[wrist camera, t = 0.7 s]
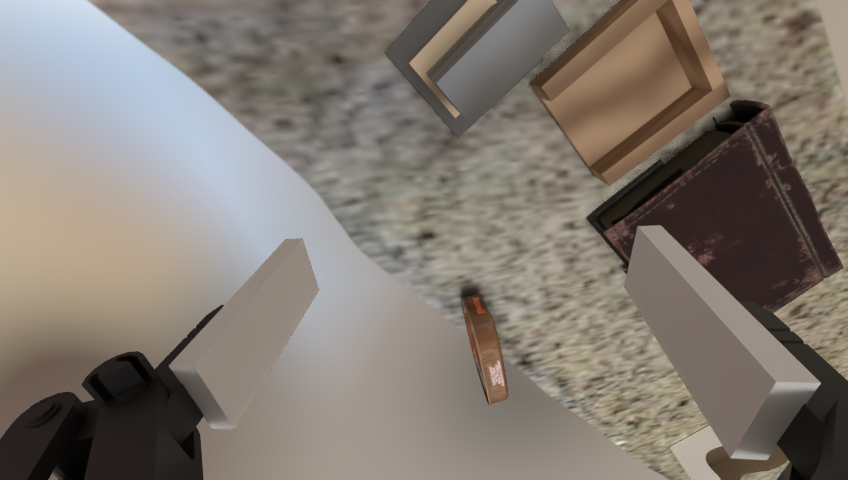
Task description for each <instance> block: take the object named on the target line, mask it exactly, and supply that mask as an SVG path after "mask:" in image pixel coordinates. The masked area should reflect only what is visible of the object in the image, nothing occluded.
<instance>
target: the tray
mask: <svg viewBox="0 0 848 480" xmlns="http://www.w3.org/2000/svg"><path fill="white" fill-rule="evenodd" d="M529 85H530V86H531V88H532V89H533V90H534V92H535V93H536V95H537V96H538V97H539V99H540V100H541V102H542V103H543V105H544V106H545V107H546V109H547V110H548V112H549V113H550V115H551V116H552V117H553V119H554V120H555V122H556V123H557V125H558V126H559V127H560V129H561V130H562V132H563V133H564V135H565V136H566V137H567V139H568V140H569V142H570V143H571V145H572V146H573V147H574V149H575V150H576V152H577V153H578V155H579V156H580V157H581V159H582V160H583V162H584V163H585V165H586V166H587V167H588V169H589V170H590V172H591V173H592V174H593V176H595V177H596V178H598V179H599V180H601V181H603V182H604V183H606V184H607V185H609V186H610V185H611V184H613V183H614V182H615V181H617V180H618V179H619V178H621V177H622V176H623V175H625V174H626V173H628V172H629V171H630V170H632V169H633V168H634V167H636V166H637V165H638V164H640V163H641V162H642V161H644V160H645V159H646V158H648V157H649V156H650V155H652V154H653V153H654V152H656V151H657V150H659V149H660V148H661V147H663V146H664V145H665V144H667V143H668V142H669V141H671V140H672V139H673V138H675V137H676V136H677V135H679V134H680V133H681V132H683V131H684V130H685V129H687V128H688V127H690V126H691V125H692V124H694V123H695V122H696V121H698V120H699V119H700V118H702V117H703V116H704V115H706V114H707V113H708V112H710V111H711V110H712V109H714V108H715V107H716V106H718V105H719V104H721V103H722V102H723V101H725V100H726V99H727V98H729V97H730V94H729V91H728V89H727V87H726V84H725V82H724V80H723V77H722V75H721V73H720V70H719V68H718V66H717V63H716V61H715V59H714V56H713V54H712V52H711V49H710V47H709V45H708V42H707V40H706V38H705V35H704V33H703V31H702V28H701V26H700V24H699V21H698V19H697V17H696V14H695V12H694V10H693V7H692V5H691V3H690V0H621V1H620V2H619V3H618V4H616V5H615V6H614V7H613V8H612V9H611V10H610V11H609V12H608V13H607V14H605V15H604V16H603V17H602V18H601V19H600V20H599V21H598V22H597V23H596V24H594V25H593V26H592V27H591V28H590V29H589V30H588V31H587V32H586V33H585V34H583V35H582V36H581V37H580V38H579V39H578V40H577V41H576V42H575V43H574V44H572V45H571V46H570V47H569V48H568V49H567V50H566V51H565V52H564V53H563V54H561V55H560V56H559V57H558V58H557V59H556V60H555V61H554V62H553V63H552V64H550V65H549V66H548V67H547V68H546V69H545V70H544V71H543V72H542V73H541V74H539V75H538V76H537V77H536V78H535V79H534V80H533V81H532V82H531V83H530V84H529Z"/></svg>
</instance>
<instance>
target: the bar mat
mask: <svg viewBox="0 0 848 480" xmlns="http://www.w3.org/2000/svg"><path fill="white" fill-rule="evenodd" d="M466 1H467V0H432V1H431V2H430V3H429V4H428V5H427V6H426V7H425V8H424V9H423V11H422V12H421V13H420V14H419V15H418V16H417V17H416V18H415V19H414V20H413V22H412V23H411V24H410V25H409V26H408V27H407V28H406V29H405V30H404V32H403V33H402V34H401V35H400V36H399V37H398V38H397V39H396V40H395V42H394V43H393V44H392V45H391V46H390V47H389V48H388V49H387V50H386V51H385V54H386V55H387V56H388V57H389V58H390V60H391V61H392V62H393V63H394V64H395V65H396V67H397V68H398V69H399V70H400V71H401V72H402V74H403V75H404V76H405V77H406V78H407V79H408V80H409V82H410V83H411V84H412V85H413V86H414V87H415V89H416V90H417V91H418V92H419V93H420V94H421V96H422V97H423V98H424V99H425V100H426V101H427V102H428V104H429V105H430V106H431V107H432V108H433V109H434V111H435V112H436V113H437V114H438V115H439V116H440V118H441V119H442V120H443V121H444V122H445V123H446V124H447V126H448V127H449V128H450V129H451V130H452V131H453V133H454V134H455V135H456V136H457V137H460V136H461V135H462V134H463V133H464V132H465V131H466V130H467V129H468V128H469V127H470V126H472V125H473V124H474V123H475V122H476V121H477V120H478V119H479V118H480V117H481V116H482V115H483V114H485V113H486V112H487V111H488V110H489V109H490V108H491V107H492V106H493V105H494V104H495V103H497V102H498V101H499V100H500V99H501V98H502V97H503V96H504V95H505V94H506V93H507V92H508V91H510V90H511V89H512V88H513V87H514V86H515V85H516V84H517V83H518V82H519V81H520V80H521V79H523V78H524V77H525V76H526V75H527V74H528V73H529V72H530V71H531V70H532V69H533V68H535V67H536V66H537V65H538V64H539V63H540V62H541V61H542V60H543V59H542V57H541V58H540V59H539V60H538V61H537V62H536V63H535V64H534V65H533V66H532V67H530V68H529V69H528V70H527V71H526V72H525V73H524V74H523V75H522V76H521V77H520V78H519V79H517V80H516V81H515V82H514V83H513V84H512V85H511V86H510V87H509V88H508V89H507V90H506V91H505V92H503V93H502V94H501V95H500V96H499V97H498V98H497V99H496V100H495V101H494V102H493V103H492V104H490V105H489V106H488V107H487V108H486V109H485V110H484V111H483V112H482V113H481V114H480V115H479V116H477V117H476V118H475V119H474V120H473V121H472V122H471V123H470V124H469V123H468V121H467V120H466V119H465V118H464V117H463V116H462V115H461V114H459V115H458V116H457V117H456V118H455V117H454V116H453V115H452V114H451V113H450V111H449V110H448V109H447V108H446V107H445V105H444V104H443V103H442V102H441V101H440V100H439V98H438V97H437V96H436V95H435V94H434V92H433V91H432V90H431V89H430V88H429V87H428V85H427V84H426V83H425V82H424V81H423V79H422V78H421V77H420V76H419V75H418V73H417V72H416V71H415V70H414V69H413V68H412V66H411V65H410V64H409V62H410V61H411V60H412V59H413V58H414V57H415V56H416V55H417V53H418V52H419V51H420V50H421V49H422V48H423V47H424V46H425V45H426V44H427V43H428V42H429V41H430V40H431V39H432V38H433V36H434V35H435V34H436V33H437V32H438V31H439V30H440V29H441V28H442V27H443V26H444V25H445V24H446V23H447V22H448V21H449V19H450V18H451V17H452V16H453V15H454V14H455V13H456V12H457V11H458V10H459V9H460V8H461V7H462V6H463V5H464V3H465V2H466ZM496 1H497V3H498V2H499V1H501V0H496Z"/></svg>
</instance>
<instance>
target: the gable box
mask: <svg viewBox="0 0 848 480" xmlns="http://www.w3.org/2000/svg"><path fill="white" fill-rule="evenodd" d="M670 450H671V451H672V453H673V454H674V456H675V457H676V459H677V460H678V462H679V463H680V465H681V466H682V468H683V469H684V471H685V472H686V474H687V475H688V477H689V478H690V480H740V478H741V477H742V476H743V475H744V474H746V473H751V472H760V471H766V470H770V469H773V468H776V467H778V466H780V465H782V464H784V463H785V462H786V461H787V460H788V458H787V457H786V456H785V454H784V453H783V452H782V450H781V449H780V448H779V446H778V445H777V447H776V448H775V449H774V451H773V452H772V454H771V455H770V457H769V458H768V459H767V460H754V459H736V458H730V457H729V455H728V454H727V452H726V450H725V449H724V447H723V446H722V444H721V442H720V441H719V439H718V437H717V436H716V434H715V433H714V431H713V429H712V428H711V426H710V425H708V426H707V427H705V428H703V429H701V430H699V431H697V432H696V433H694V434H692V435H690V436H688V437H686V438H685V439H683V440H681V441H679V442H677V443H675V444H674V445H672V446H670Z"/></svg>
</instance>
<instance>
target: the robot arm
mask: <svg viewBox="0 0 848 480" xmlns="http://www.w3.org/2000/svg"><path fill="white" fill-rule="evenodd" d="M624 287H625V289H626V290H627V292H628V294H629V295H630V297H631V298H632V300H633V302H634V303H635V305H636V306H637V308H638V310H639V311H640V313H641V315H642V316H643V318H644V319H645V321H646V323H647V324H648V326H649V328H650V329H651V331H652V332H653V334H654V336H655V337H656V339H657V340H658V342H659V344H660V345H661V347H662V349H663V350H664V352H665V353H666V355H667V357H668V358H669V360H670V361H671V363H672V365H673V366H674V368H675V370H676V371H677V373H678V374H679V376H680V378H681V379H682V381H683V382H684V384H685V386H686V387H687V389H688V391H689V392H690V394H691V395H692V397H693V399H694V400H695V402H696V403H697V405H698V407H699V408H700V410H701V412H702V413H703V415H704V416H705V418H706V420H707V421H708V423H709V425H710V426H711V428H712V429H713V431H714V433H715V434H716V436H717V437H718V439H719V441H720V442H721V444H722V446H723V447H724V449H725V450H726V452H727V454H728V455H729V457H730V458H736V459H754V460H767V459H768V458H769V457H770V455H771V454H772V452H773V451H774V449H775V448H776V447H777V445H778V446H779V448H780V449H781V450H782V452H783V453H784V454H785V456H786V457H787V458H788V460H789V461H790V463H789V464H788V465H787V467H786V468H785V469H784V471H783V472H782V473H781V475H780V476H779V477H778V479H777V480H848V381H847V380H846V379H845V378H844V377H843V376H842V375H840V374H839V373H838V372H837V371H836V370H835V369H834V368H833V367H832V366H831V365H829V364H828V363H827V362H826V361H825V360H824V359H823V358H822V357H821V356H820V355H818V354H817V353H816V352H815V351H814V350H813V349H812V348H811V347H810V346H808V345H807V344H804V343H803V340H802V339H801V338H800V337H799V336H797V335H796V334H795V333H794V332H791V331H790V328H789V327H788V326H786V325H785V324H784V323H783V322H782V321H781V320H780V319H779V318H778V317H777V316H775V315H774V314H773V313H771V312H769V311H768V310H766V309H764V308H762V307H761V306H759V305H757V304H755V303H754V302H752V301H737V300H736V299H735V298H734V297H733V296H732V295H731V294H730V293H729V292H728V291H727V290H726V289H725V288H724V287H723V286H722V285H721V284H720V283H719V282H718V281H717V280H716V279H715V278H714V277H713V276H712V275H711V274H710V273H709V272H708V271H707V270H706V269H705V268H704V267H703V266H702V265H700V264H699V263H698V262H697V261H696V260H695V259H694V258H693V257H692V256H691V255H690V254H689V253H688V252H687V251H686V250H685V249H684V248H683V247H682V246H681V245H680V244H679V243H678V242H677V241H676V240H675V239H674V238H673V237H672V236H671V235H670V234H669V233H668V232H667V231H666V230H665V229H664V228H663V227H662V226H661V225H656V226H638V227H637V231H636V236H635V240H634V245H633V249H632V254H631V258H630V262H629V267H628V271H627V276H626V280H625V285H624ZM318 291H319V288H318V285H317V282H316V279H315V276H314V273H313V270H312V266H311V263H310V260H309V257H308V254H307V251H306V248H305V245H304V242H303V239H286V240H284V242H283V243H282V244H281V245H280V246H279V247H278V248H277V249H276V250H275V251H274V252H273V254H272V255H271V256H270V257H269V258H268V259H267V260H266V261H265V262H264V263H263V264H262V265H261V266H260V268H259V269H258V270H257V271H256V272H255V273H254V274H253V275H252V276H251V277H250V278H249V280H248V281H247V282H246V283H245V284H244V285H243V286H242V287H241V288H240V289H239V290H238V291H237V292H236V294H235V295H234V296H233V297H232V298H231V299H230V300H229V301H228V302H227V303H226V304H225V305H221V306H219V307H218V308H217V309H215V310H213V311H212V312H211V313H209V314H208V315H206V317H205V318H204V319H203V320H202V321H201V322H200V323H199V324H198V325H197V326H196V329H193V330H192V331H191V332H190V333H189V334H188V335H187V338H185V339H183V341H182V342H181V343H180V344H179V345H178V346H177V347H176V348H175V349H174V350H173V351H172V352H171V353H170V354H169V355H168V356H167V357H166V358H165V359H164V360H163V361H162V362H161V363H160V364H159V366H158V367H157V368H156V369H155V370H154V368H153V367H152V366H151V364H150V363H149V361H148V360H147V359H146V357H145V356H144V355H143V354H142V353H140V352H137V351H136V352H127V353H124V354H121V355H117V356H115V357H113V358H111V359H109V360H108V361H105V362H104V363H102V364H101V365H100V366H98V367H97V368H95V369H94V370H93V371H92V372H91V373H90V374H89V375H88V376H87V377H86V378H85V380H84V382H83V383H82V386H83V387H84V388H85V389H86V390H87V392H88V393H89V394H90V395H91V396H92V397H93V398H94V399H95V400H92V401H88V402H84V403H83V402H82V401H81V400H80V399H79V398H78V397H77V396H76V395H75V394H74V393H71V392H63V393H58V394H55V395H53V396H50V397H48V398H45V399H43V400H41V401H39V402H37V403H36V404H34V405H32V406H31V407H30V408H29V409H28V410H26V411H25V412H24V413H22V414H21V415H20V416H19V417H18V418H17V419H16V420H15V421H14V423H12V425H11V426H10V427H9V428H8V430H7V431H6V432H5V434H4V435H3V437H2V438H1V439H0V480H48V479H49V477H50V475H51V474H52V473H53V474H54V475H55V476H56V477H57V478H59V479H58V480H203V467H202V455H201V454H202V453H201V440H200V433H199V431H198V429H197V428H196V426H197V424H198V423H199V422H200V420H201V419H202V418H203V416H204V418H205V419H206V421H207V422H208V423H209V425H210V426H211V428H215V429H235V428H236V427H237V425H238V423H239V422H240V420H241V418H242V417H243V415H244V413H245V412H246V410H247V408H248V407H249V405H250V403H251V402H252V400H253V398H254V397H255V395H256V394H257V392H258V390H259V389H260V387H261V385H262V384H263V382H264V380H265V379H266V377H267V375H268V374H269V372H270V370H271V369H272V367H273V365H274V364H275V362H276V360H277V359H278V357H279V356H280V354H281V352H282V350H283V349H284V347H285V345H286V344H287V342H288V341H289V339H290V337H291V336H292V334H293V332H294V331H295V329H296V327H297V326H298V324H299V322H300V321H301V319H302V317H303V316H304V314H305V313H306V311H307V309H308V308H309V306H310V304H311V303H312V301H313V299H314V298H315V296H316V294H317V292H318Z"/></svg>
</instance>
